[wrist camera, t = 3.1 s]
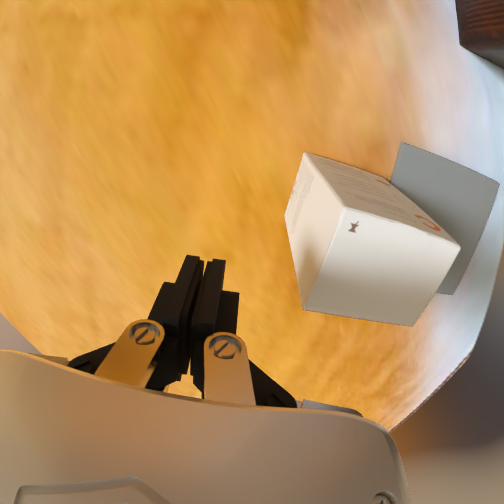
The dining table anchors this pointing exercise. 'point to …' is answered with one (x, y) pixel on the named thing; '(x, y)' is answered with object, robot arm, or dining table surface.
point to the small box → (363, 245)
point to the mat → (447, 201)
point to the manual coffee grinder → (482, 28)
